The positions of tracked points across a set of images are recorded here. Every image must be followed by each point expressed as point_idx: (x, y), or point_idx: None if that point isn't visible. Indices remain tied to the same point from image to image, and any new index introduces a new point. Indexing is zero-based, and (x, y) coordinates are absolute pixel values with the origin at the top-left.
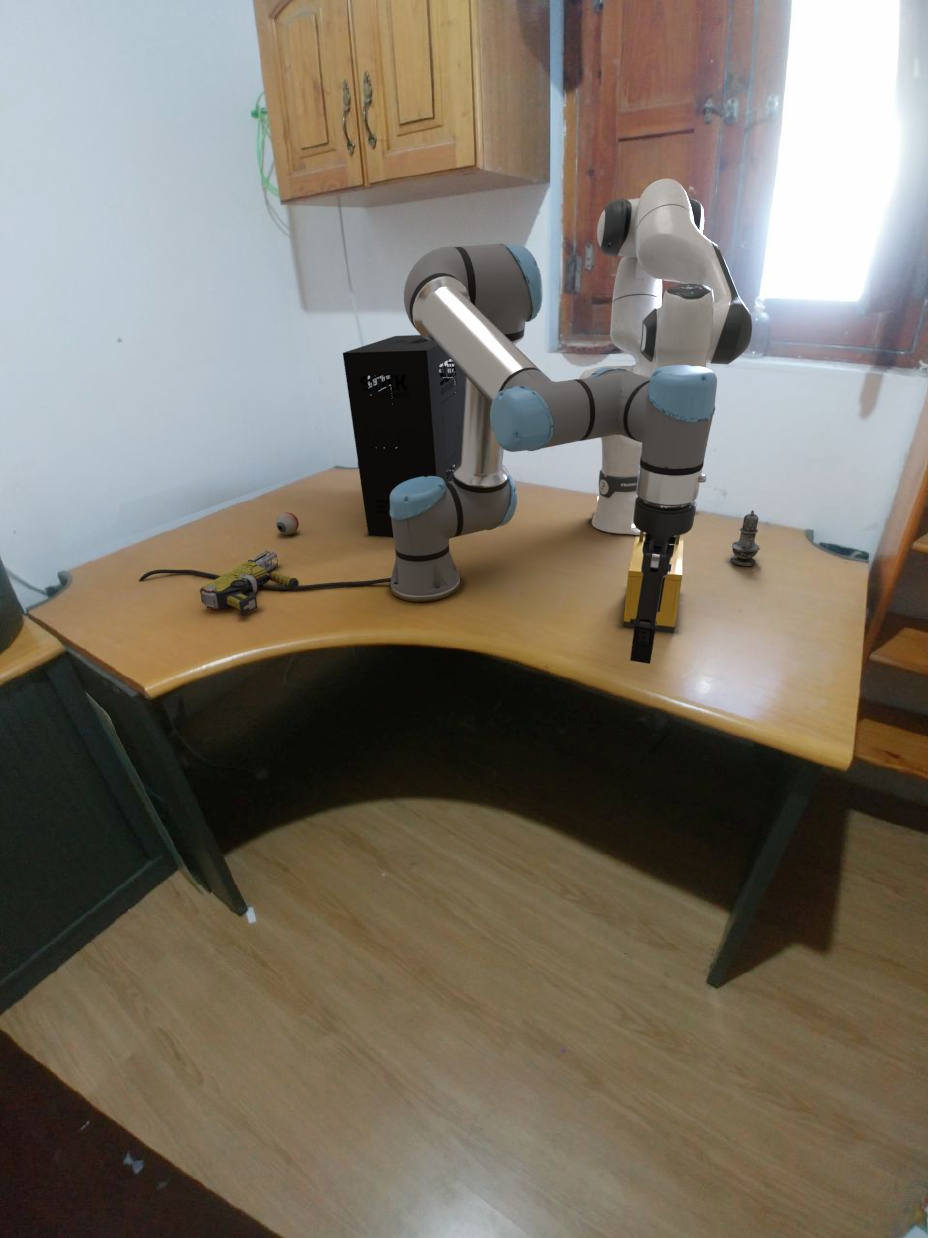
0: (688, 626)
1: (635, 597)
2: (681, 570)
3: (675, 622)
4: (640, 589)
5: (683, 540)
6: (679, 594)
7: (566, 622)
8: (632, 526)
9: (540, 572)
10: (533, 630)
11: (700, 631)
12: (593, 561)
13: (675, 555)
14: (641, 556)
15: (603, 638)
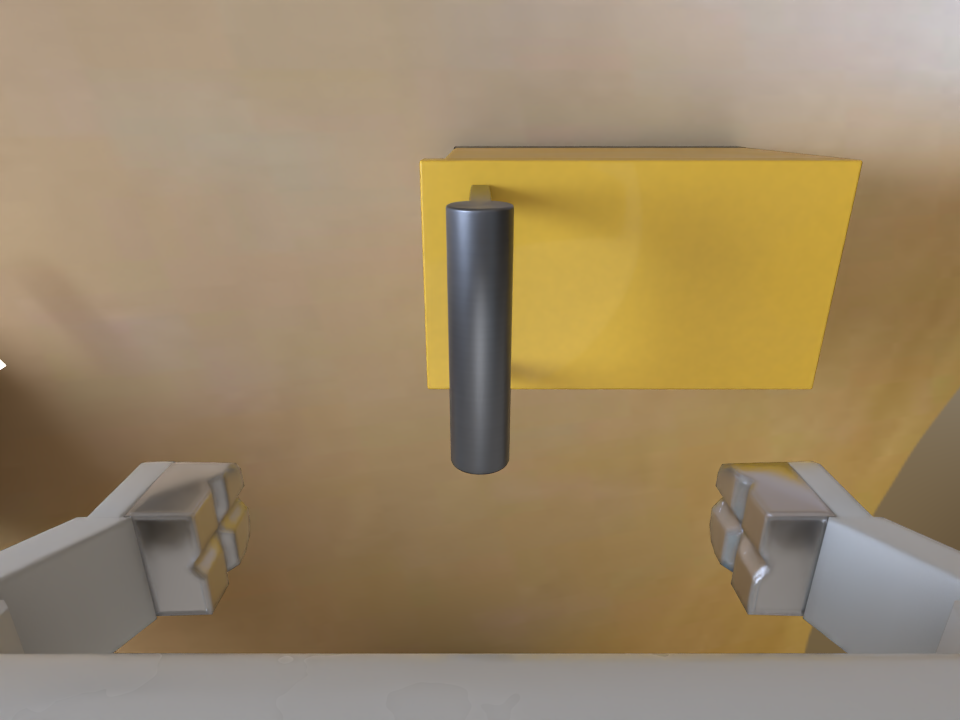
0: (688, 96)
1: None
2: (810, 165)
3: (751, 148)
4: None
5: (424, 160)
6: (807, 154)
7: (701, 461)
8: (2, 366)
9: (398, 574)
10: None
11: (720, 52)
12: (265, 444)
13: (634, 198)
14: (661, 349)
15: None
